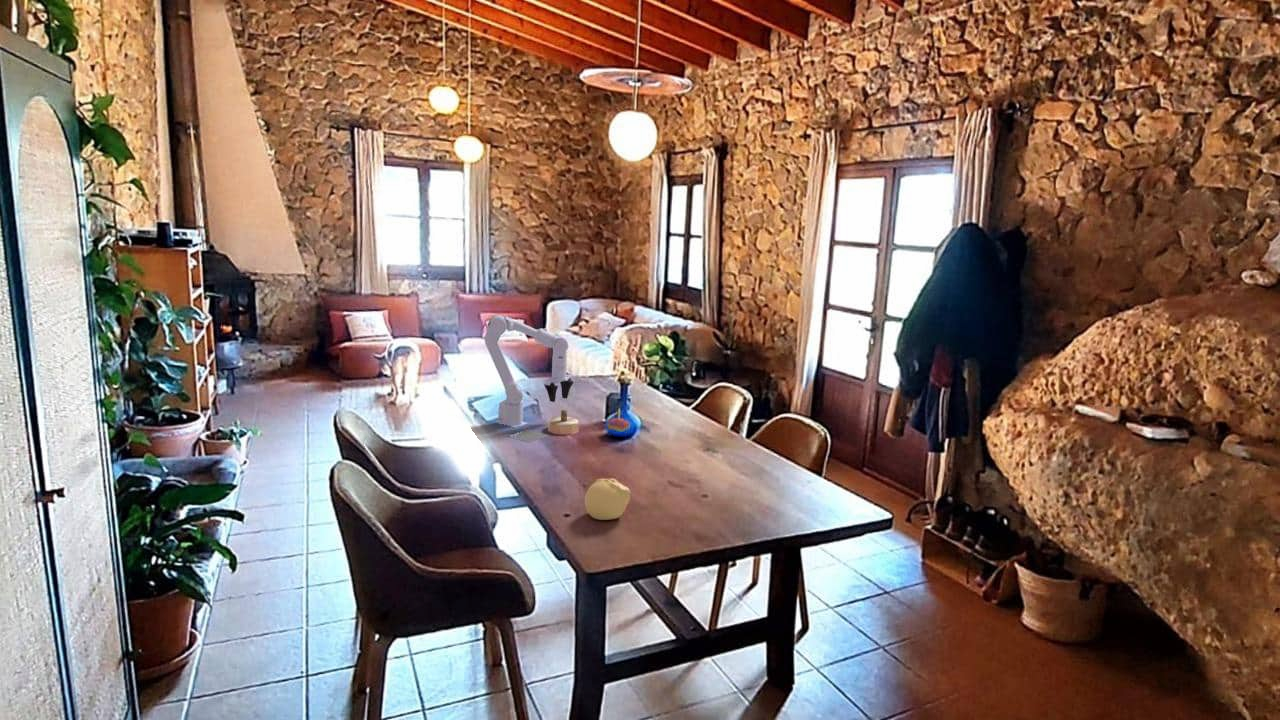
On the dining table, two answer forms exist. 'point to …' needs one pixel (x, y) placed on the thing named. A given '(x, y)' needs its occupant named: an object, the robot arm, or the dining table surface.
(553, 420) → the lid
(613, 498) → the butter
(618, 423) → the cupcake
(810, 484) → the dining table surface
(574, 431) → the octagonal bowl
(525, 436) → the mat
